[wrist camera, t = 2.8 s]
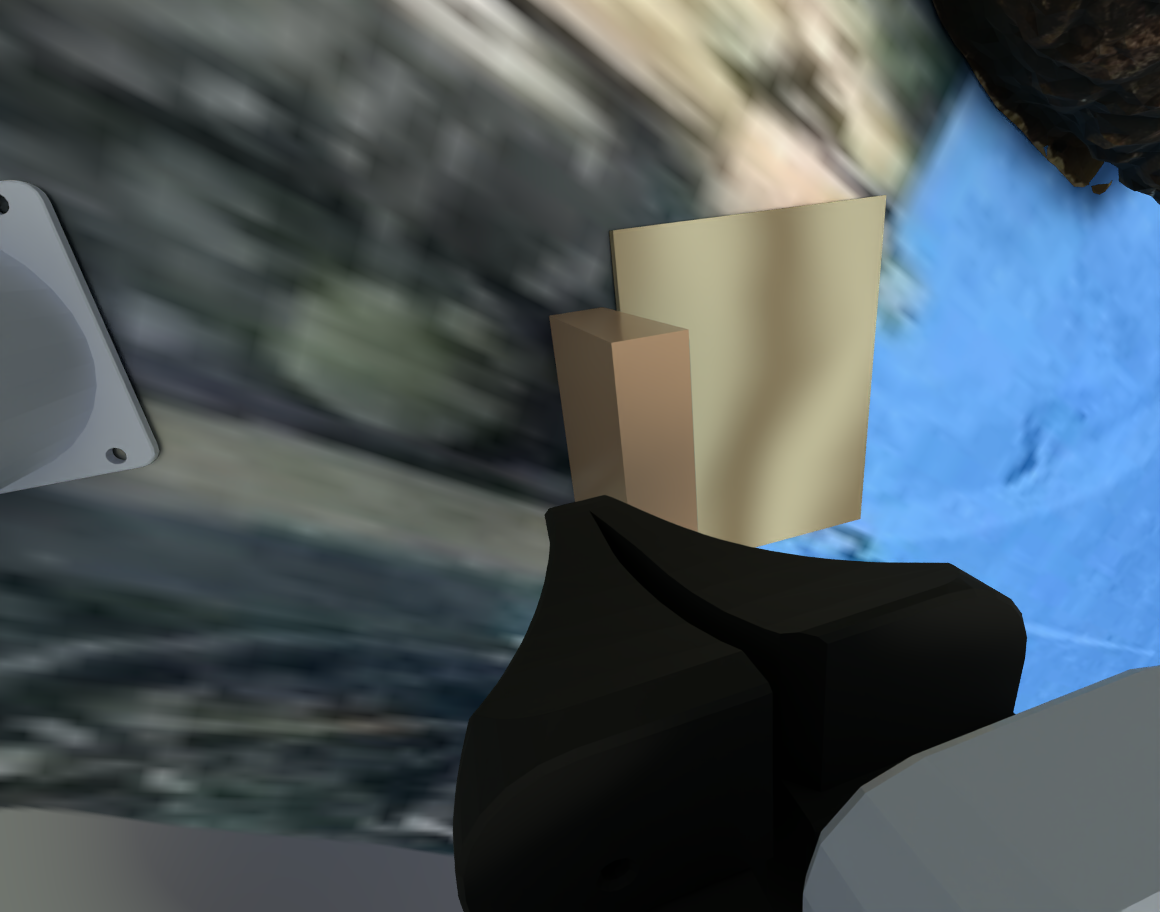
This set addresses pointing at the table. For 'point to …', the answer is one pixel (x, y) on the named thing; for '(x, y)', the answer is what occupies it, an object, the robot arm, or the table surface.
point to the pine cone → (1071, 79)
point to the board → (768, 356)
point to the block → (628, 410)
